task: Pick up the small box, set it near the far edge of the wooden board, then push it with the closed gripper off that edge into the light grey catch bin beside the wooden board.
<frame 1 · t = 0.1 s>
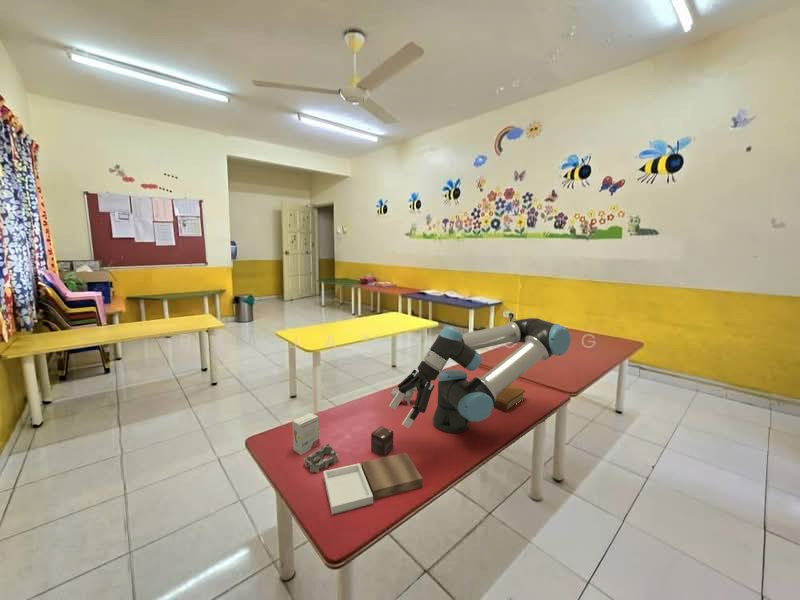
hand: (398, 416, 120), 15 cm above the table, tool tilted 35°, fingers open, 13 cm apart
catch bin: (347, 490, 105), on the table
wooden board: (390, 478, 111), on the table
box: (382, 450, 126), on the table
ink box: (306, 448, 127), on the table
grey lobed frame: (321, 464, 118), on the table
dog figurine: (403, 403, 163), on the table
diary: (493, 399, 169), on the table
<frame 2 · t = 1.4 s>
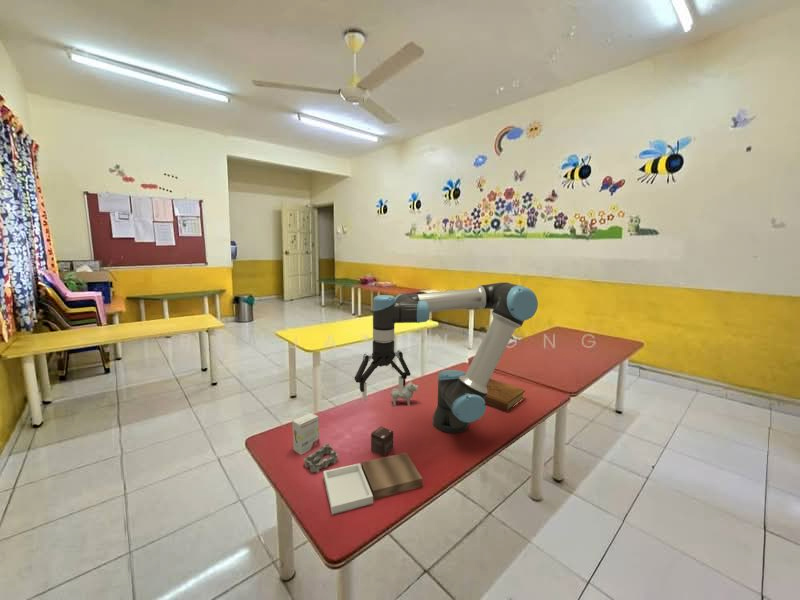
hand: (382, 397, 122), 21 cm above the table, tool pointing down, fingers open, 13 cm apart
nothing on the table moved.
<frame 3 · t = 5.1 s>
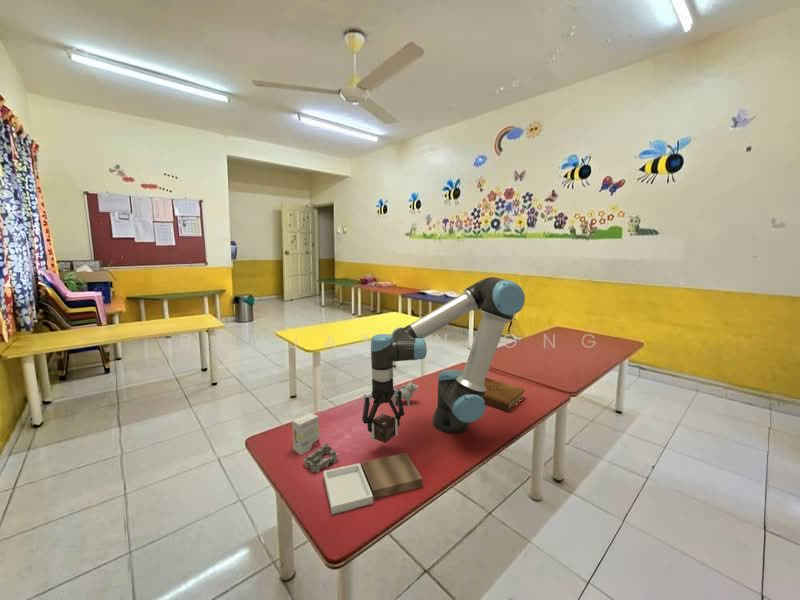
hand: (384, 436, 125), 5 cm above the table, tool pointing down, fingers closed on box, 8 cm apart
box: (384, 437, 125), point 5 cm above the table, touching gripper
everything else where it was.
when the fingers open (4 cm above the table, at t = 10.0 s): box stays where it is, resting on wooden board.
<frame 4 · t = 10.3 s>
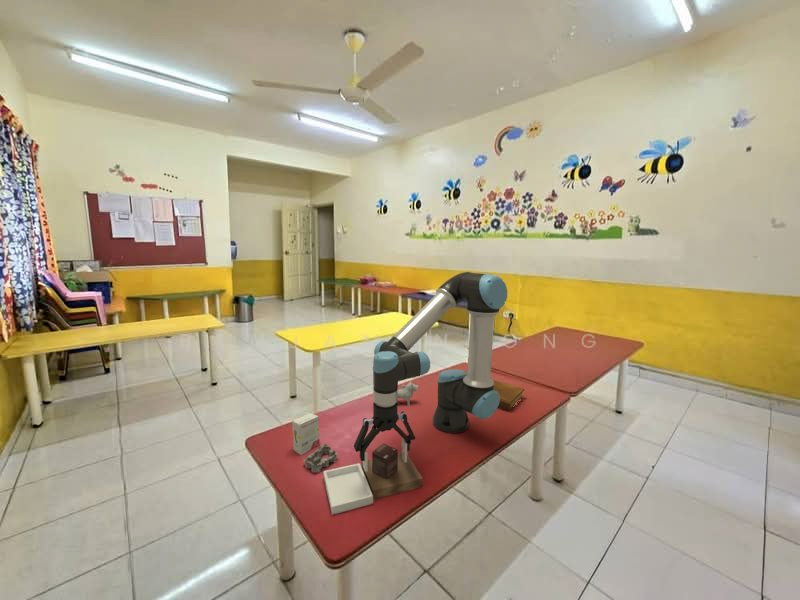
hand: (385, 464, 109), 6 cm above the table, tool pointing down, fingers open, 12 cm apart
box: (385, 471, 110), point 3 cm above the table, touching wooden board
everything else where it was.
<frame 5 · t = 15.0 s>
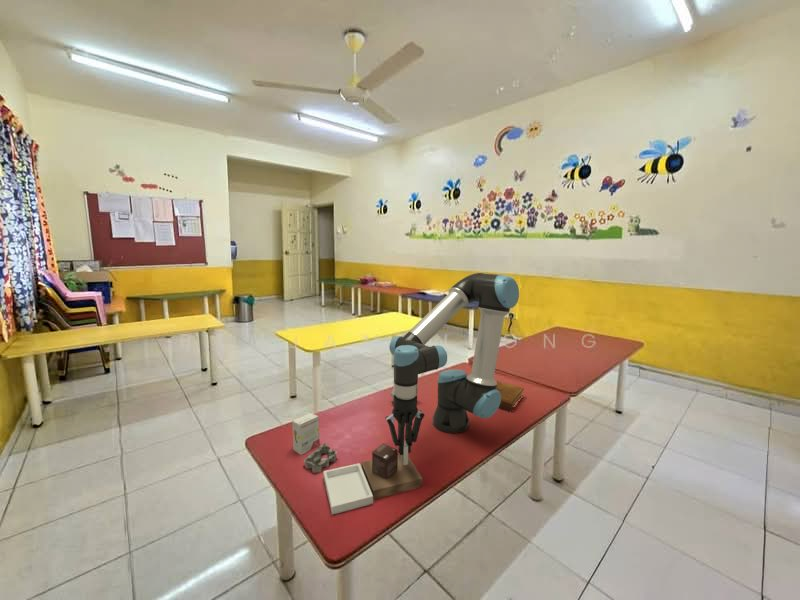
hand: (404, 462, 111), 5 cm above the table, tool pointing down, fingers closed
box: (384, 471, 110), point 3 cm above the table, touching gripper, wooden board
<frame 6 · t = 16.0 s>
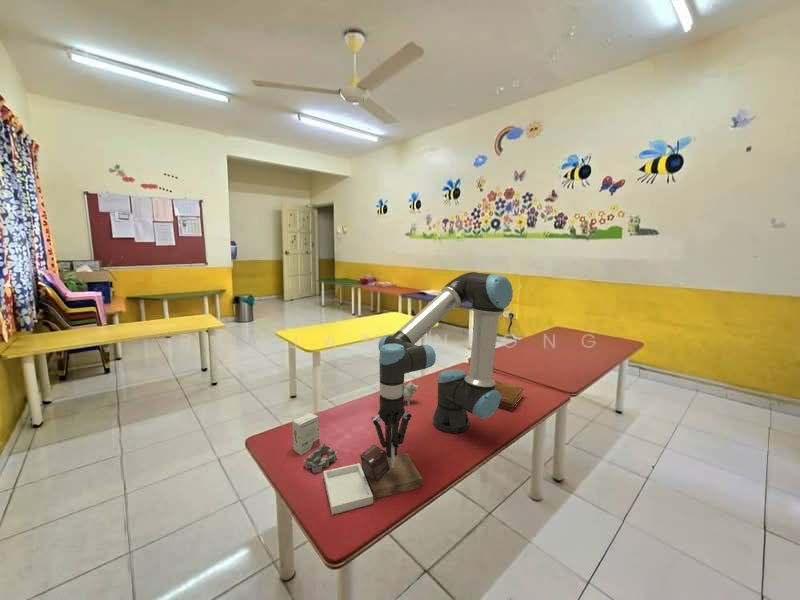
hand: (391, 465, 108), 6 cm above the table, tool pointing down, fingers closed
box: (377, 472, 108), point 3 cm above the table, touching gripper, wooden board
everything else where it was.
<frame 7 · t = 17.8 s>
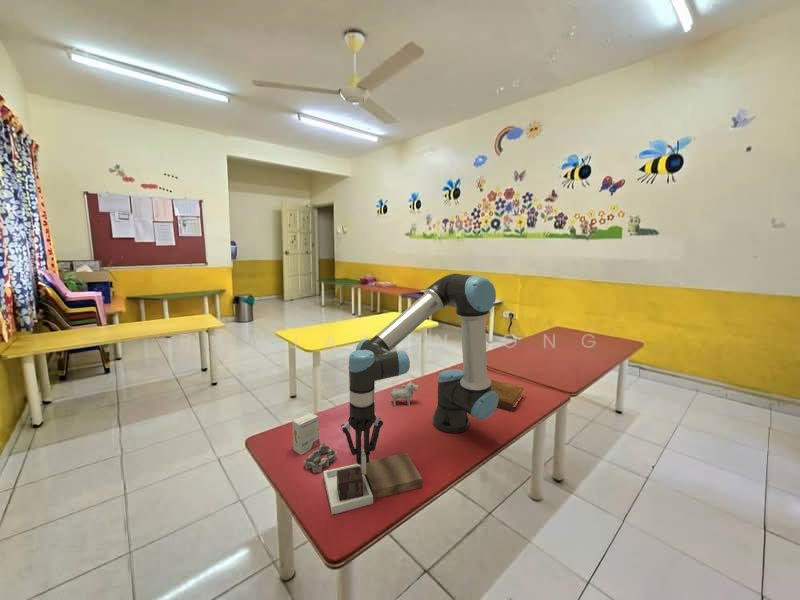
hand: (362, 471, 107), 5 cm above the table, tool pointing down, fingers closed
box: (362, 480, 105), point 3 cm above the table, touching catch bin, gripper
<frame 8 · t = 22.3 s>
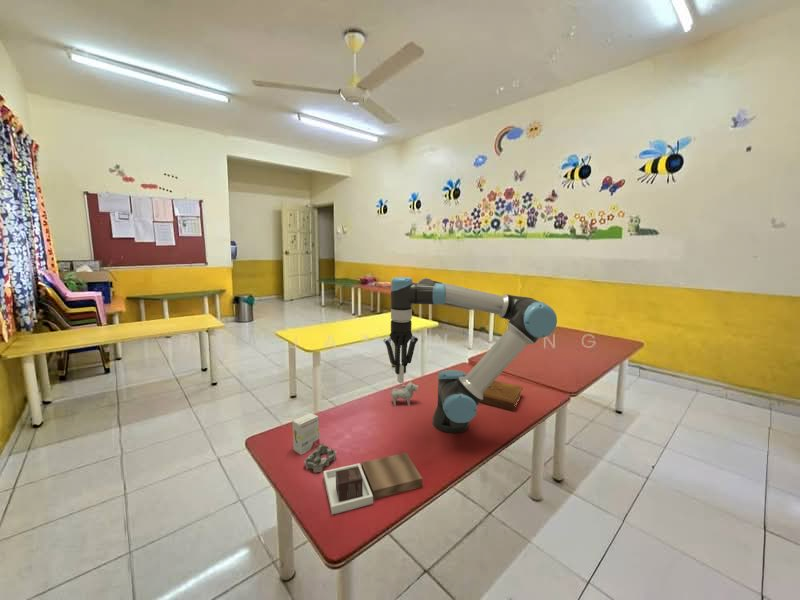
hand: (400, 381, 127), 24 cm above the table, tool pointing down, fingers closed
box: (361, 480, 104), point 3 cm above the table, touching catch bin
at the end: box inside the target area on the catch bin (4.8 cm from its centre), point 3.4 cm above the catch bin's base; the gripper is holding nothing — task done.
